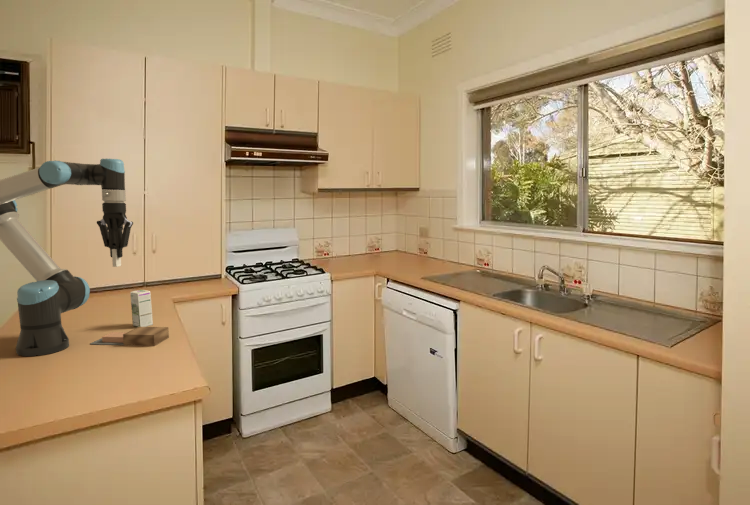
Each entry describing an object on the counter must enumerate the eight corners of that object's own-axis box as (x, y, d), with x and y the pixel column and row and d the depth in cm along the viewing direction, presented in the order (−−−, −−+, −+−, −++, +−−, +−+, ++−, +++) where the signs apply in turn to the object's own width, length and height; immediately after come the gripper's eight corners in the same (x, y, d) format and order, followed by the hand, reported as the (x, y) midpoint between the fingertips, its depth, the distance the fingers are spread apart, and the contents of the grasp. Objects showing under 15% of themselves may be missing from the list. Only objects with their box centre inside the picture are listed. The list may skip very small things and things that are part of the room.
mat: (89, 344, 168) (89, 343, 168) (107, 336, 178) (107, 335, 178) (124, 345, 167) (124, 344, 167) (140, 336, 177) (140, 336, 177)
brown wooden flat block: (123, 345, 167) (123, 334, 167) (139, 336, 177) (138, 326, 177) (154, 345, 167) (153, 335, 166) (168, 337, 176) (168, 327, 176)
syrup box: (153, 324, 194) (151, 290, 192) (139, 328, 189) (137, 293, 187) (145, 322, 197) (143, 289, 195) (131, 326, 192) (129, 291, 190)
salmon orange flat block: (102, 342, 170) (101, 336, 170) (112, 337, 176) (112, 332, 176) (126, 342, 169) (125, 337, 169) (135, 337, 175) (135, 332, 175)
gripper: (90, 201, 167) (93, 267, 169) (124, 202, 165) (127, 268, 168) (104, 201, 174) (107, 264, 177) (137, 202, 173) (139, 265, 176)
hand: (116, 266), depth 172 cm, fingers closed
